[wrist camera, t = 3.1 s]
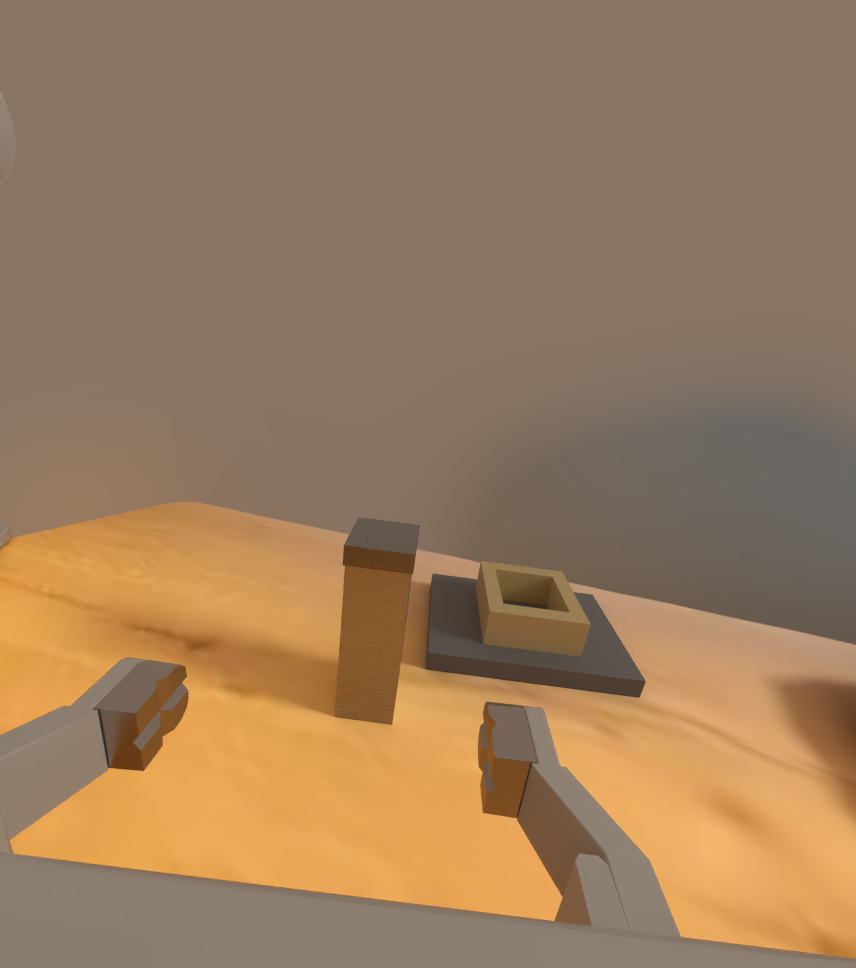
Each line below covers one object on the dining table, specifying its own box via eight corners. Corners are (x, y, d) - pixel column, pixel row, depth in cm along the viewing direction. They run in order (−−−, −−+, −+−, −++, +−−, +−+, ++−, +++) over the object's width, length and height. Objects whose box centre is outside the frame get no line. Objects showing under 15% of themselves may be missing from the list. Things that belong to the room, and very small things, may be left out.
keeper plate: (425, 669, 29) (433, 618, 28) (430, 586, 40) (436, 546, 38) (639, 697, 29) (658, 647, 28) (588, 607, 40) (600, 568, 38)
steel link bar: (332, 718, 25) (343, 545, 21) (347, 671, 28) (358, 517, 25) (393, 726, 25) (415, 554, 21) (400, 678, 28) (419, 525, 25)
